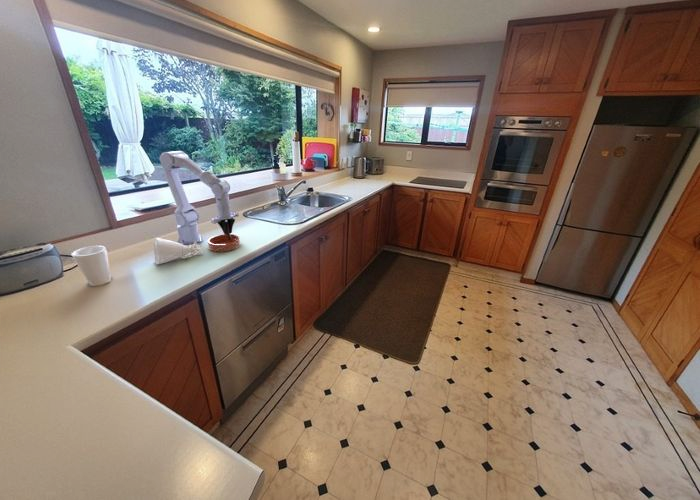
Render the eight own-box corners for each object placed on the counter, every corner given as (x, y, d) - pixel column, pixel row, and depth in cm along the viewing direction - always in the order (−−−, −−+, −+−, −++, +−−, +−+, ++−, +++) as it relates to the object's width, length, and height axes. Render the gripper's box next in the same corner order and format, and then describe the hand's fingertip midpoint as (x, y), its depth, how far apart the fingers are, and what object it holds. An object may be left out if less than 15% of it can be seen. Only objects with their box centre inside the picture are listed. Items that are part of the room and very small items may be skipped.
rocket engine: (202, 232, 130) (156, 232, 118) (207, 254, 126) (159, 256, 114) (197, 245, 138) (153, 246, 126) (201, 266, 134) (156, 269, 122)
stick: (227, 240, 140) (224, 221, 136) (226, 239, 141) (223, 220, 137) (231, 240, 141) (228, 221, 137) (230, 239, 142) (227, 220, 138)
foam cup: (91, 277, 109) (79, 247, 104) (119, 274, 113) (109, 244, 107) (79, 289, 101) (65, 257, 96) (110, 285, 104) (99, 254, 99)
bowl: (211, 254, 131) (210, 246, 130) (207, 244, 142) (205, 236, 141) (243, 248, 139) (241, 241, 137) (236, 239, 149) (235, 232, 148)
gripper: (216, 211, 126) (221, 239, 132) (241, 205, 138) (244, 230, 144) (206, 209, 129) (211, 236, 135) (231, 202, 141) (235, 228, 147)
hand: (227, 233), depth 140 cm, fingers closed on stick, 2 cm apart
